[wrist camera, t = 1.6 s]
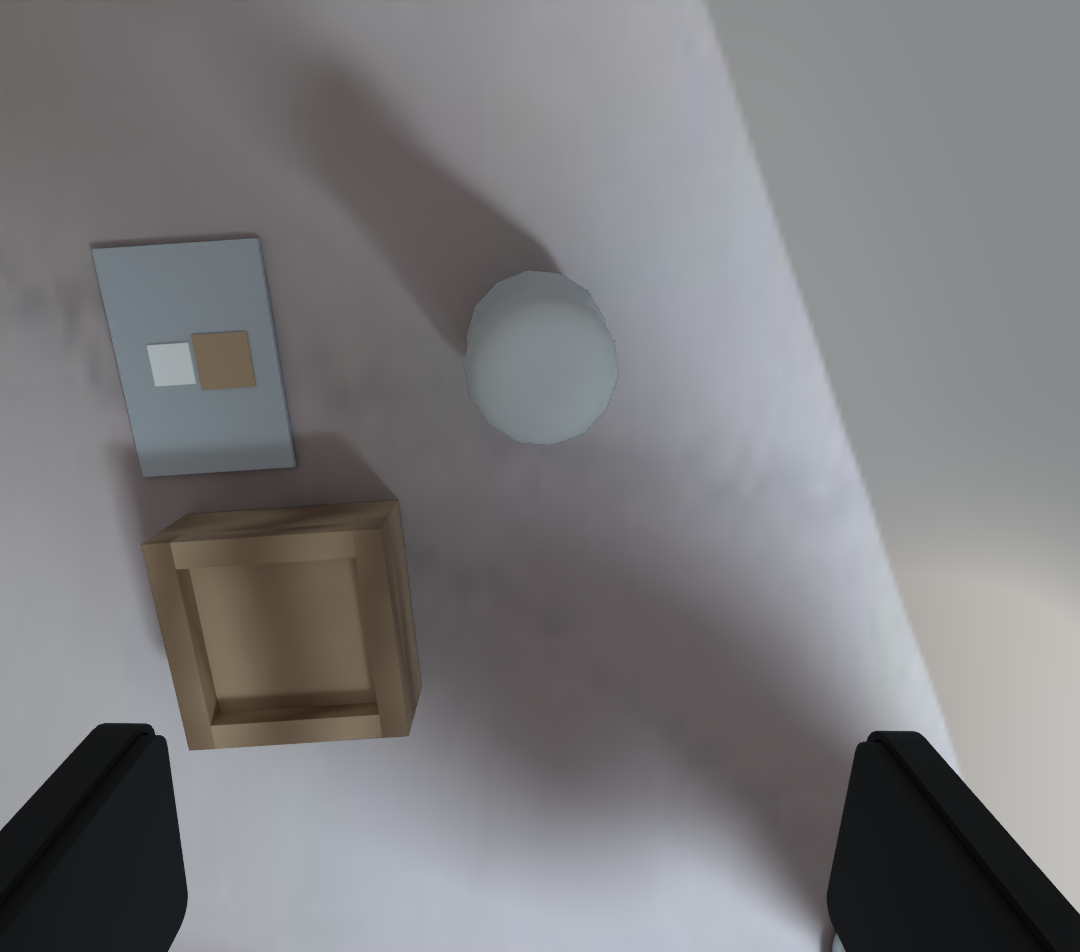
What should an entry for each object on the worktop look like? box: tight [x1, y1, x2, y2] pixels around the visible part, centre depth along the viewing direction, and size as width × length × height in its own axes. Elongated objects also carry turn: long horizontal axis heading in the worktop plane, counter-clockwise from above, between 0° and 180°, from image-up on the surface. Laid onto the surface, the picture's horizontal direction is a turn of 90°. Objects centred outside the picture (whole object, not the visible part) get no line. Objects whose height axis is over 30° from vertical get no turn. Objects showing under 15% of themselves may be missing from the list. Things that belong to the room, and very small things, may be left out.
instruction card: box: [91, 238, 297, 477], centre depth 30 cm, size 7×10×1 cm
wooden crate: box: [141, 500, 422, 751], centre depth 32 cm, size 10×10×4 cm
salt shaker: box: [464, 270, 619, 445], centre depth 24 cm, size 6×6×13 cm
